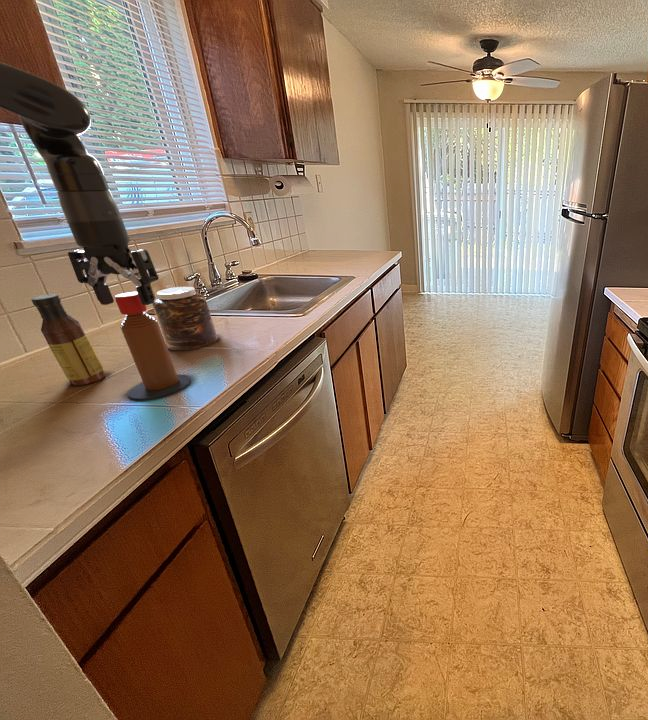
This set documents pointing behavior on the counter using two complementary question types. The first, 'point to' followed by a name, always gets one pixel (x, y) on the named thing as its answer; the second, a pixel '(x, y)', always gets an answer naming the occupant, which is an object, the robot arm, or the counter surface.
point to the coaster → (144, 394)
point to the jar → (184, 318)
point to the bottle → (149, 351)
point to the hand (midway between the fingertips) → (128, 303)
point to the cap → (129, 303)
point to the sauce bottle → (68, 342)
